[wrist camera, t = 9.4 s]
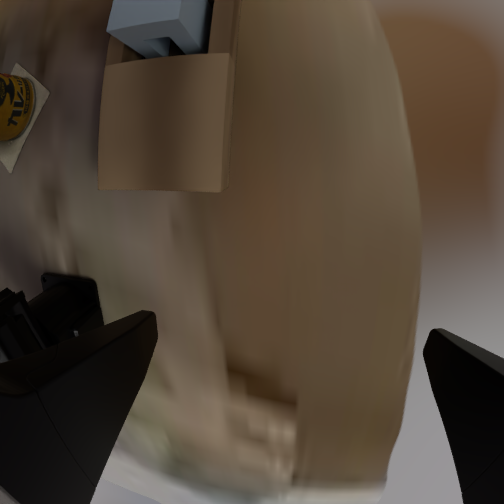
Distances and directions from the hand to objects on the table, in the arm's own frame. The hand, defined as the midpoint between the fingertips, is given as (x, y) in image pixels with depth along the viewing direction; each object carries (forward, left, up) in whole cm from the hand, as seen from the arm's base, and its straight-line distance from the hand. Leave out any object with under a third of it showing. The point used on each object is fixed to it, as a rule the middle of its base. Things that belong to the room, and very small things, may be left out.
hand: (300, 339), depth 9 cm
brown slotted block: (-8, +13, -12) cm, 19 cm away
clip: (-8, +14, -12) cm, 20 cm away
